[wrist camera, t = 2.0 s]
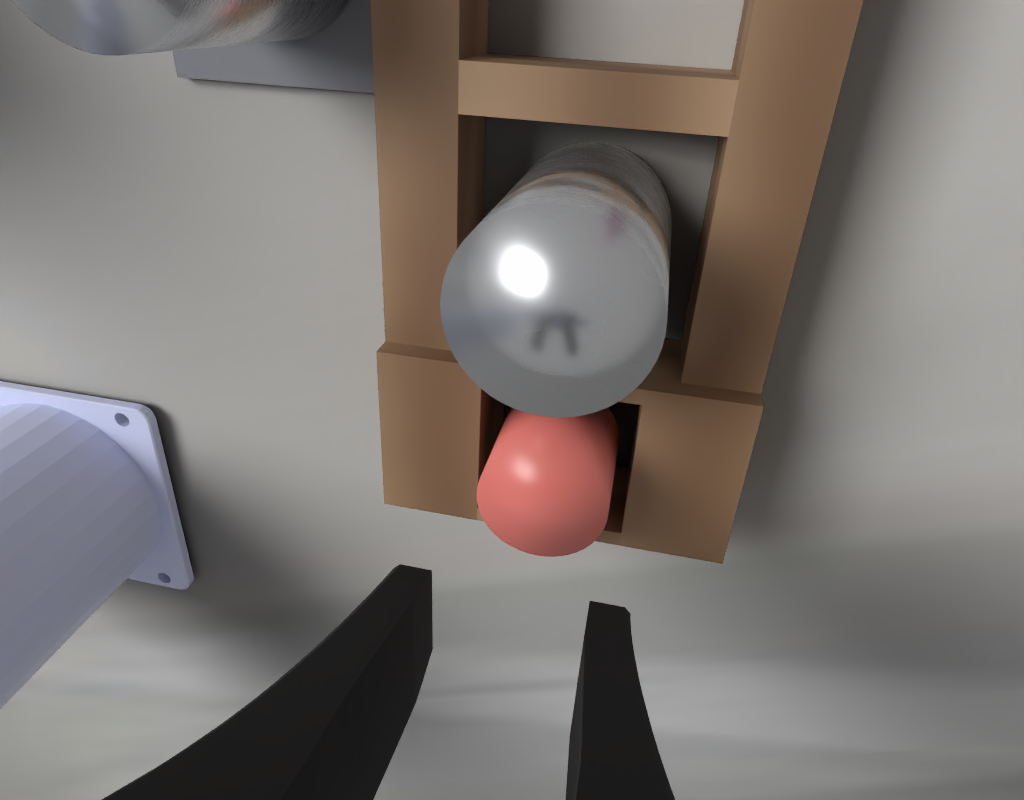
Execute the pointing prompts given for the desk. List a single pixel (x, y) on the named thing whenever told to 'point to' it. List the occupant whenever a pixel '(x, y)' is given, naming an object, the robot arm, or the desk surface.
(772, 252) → the wooden compartment tray
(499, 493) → the button
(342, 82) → the mat
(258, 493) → the desk surface
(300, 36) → the cylinder
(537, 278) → the billet seated
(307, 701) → the robot arm
